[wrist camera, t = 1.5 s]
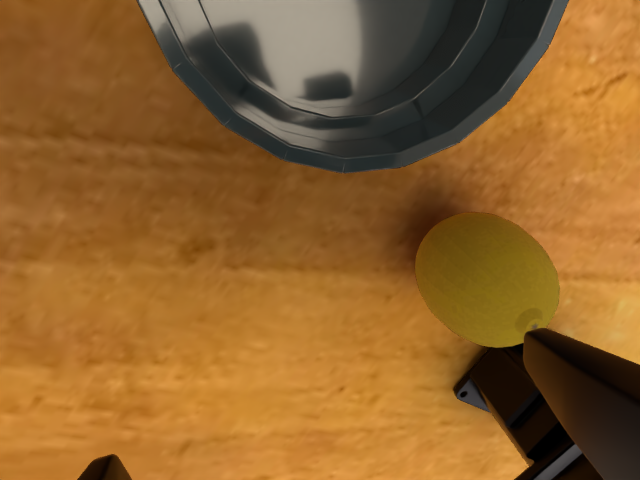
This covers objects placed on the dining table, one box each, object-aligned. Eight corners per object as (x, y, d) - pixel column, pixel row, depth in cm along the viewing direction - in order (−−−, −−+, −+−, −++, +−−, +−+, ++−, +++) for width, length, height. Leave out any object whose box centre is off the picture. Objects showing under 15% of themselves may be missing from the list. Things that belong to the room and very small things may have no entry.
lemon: (459, 169, 22) (572, 232, 14) (504, 241, 24) (620, 326, 17) (373, 237, 22) (440, 329, 15) (425, 301, 25) (505, 406, 18)
